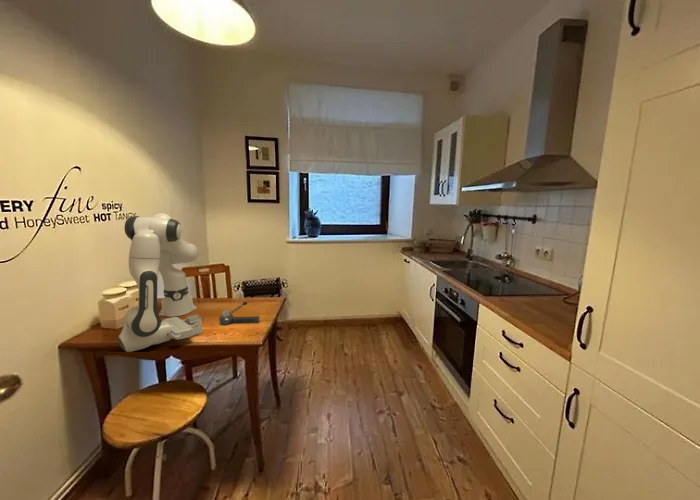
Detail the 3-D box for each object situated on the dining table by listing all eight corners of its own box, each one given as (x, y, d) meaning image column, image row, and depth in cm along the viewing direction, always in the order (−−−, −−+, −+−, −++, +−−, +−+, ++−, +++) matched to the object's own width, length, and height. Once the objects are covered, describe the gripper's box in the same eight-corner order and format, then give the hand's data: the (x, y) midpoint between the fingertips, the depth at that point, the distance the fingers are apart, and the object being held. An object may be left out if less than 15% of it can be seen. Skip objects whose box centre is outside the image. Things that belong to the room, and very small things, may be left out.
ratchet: (217, 325, 157) (216, 313, 155) (222, 320, 163) (221, 308, 162) (257, 324, 158) (256, 312, 156) (260, 319, 164) (259, 307, 163)
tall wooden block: (186, 332, 148) (185, 317, 147) (198, 329, 152) (196, 314, 151) (191, 336, 145) (189, 320, 143) (202, 332, 149) (201, 316, 147)
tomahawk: (233, 318, 168) (233, 317, 167) (222, 316, 169) (222, 314, 169) (254, 304, 187) (254, 303, 187) (244, 303, 189) (244, 301, 189)
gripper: (171, 332, 131) (204, 322, 141) (155, 319, 144) (186, 310, 154) (172, 346, 132) (205, 335, 142) (157, 331, 145) (188, 322, 156)
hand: (195, 322), depth 148 cm, fingers closed on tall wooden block, 5 cm apart
